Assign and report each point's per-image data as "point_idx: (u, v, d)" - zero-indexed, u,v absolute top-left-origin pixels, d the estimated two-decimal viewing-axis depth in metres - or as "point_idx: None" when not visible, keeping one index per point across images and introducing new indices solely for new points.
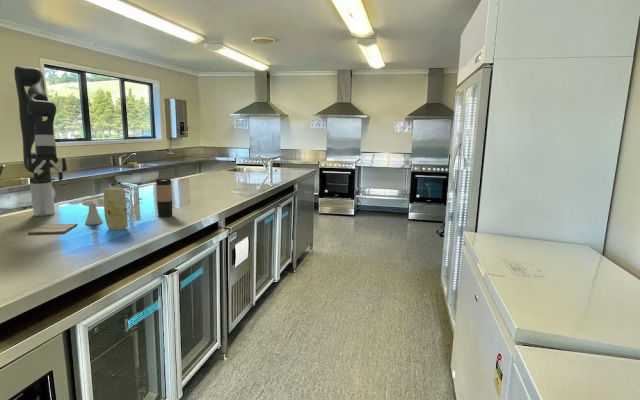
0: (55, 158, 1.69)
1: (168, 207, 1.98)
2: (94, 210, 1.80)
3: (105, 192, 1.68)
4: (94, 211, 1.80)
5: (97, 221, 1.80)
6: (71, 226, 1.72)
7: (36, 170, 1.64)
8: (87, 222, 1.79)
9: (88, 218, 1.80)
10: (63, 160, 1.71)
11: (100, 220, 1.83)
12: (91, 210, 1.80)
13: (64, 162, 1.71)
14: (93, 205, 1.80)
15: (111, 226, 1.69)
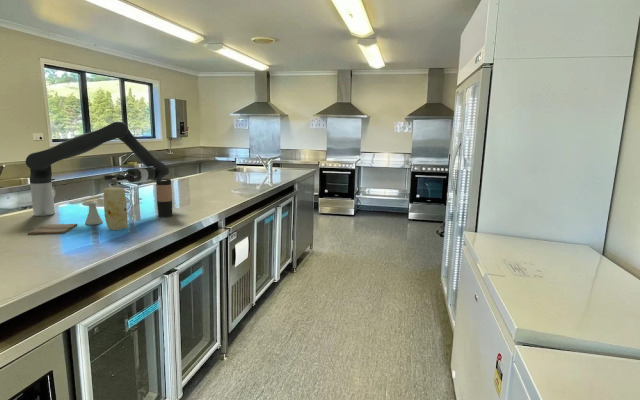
0: None
1: (168, 207, 1.98)
2: (94, 210, 1.80)
3: (105, 192, 1.68)
4: (94, 211, 1.80)
5: (97, 221, 1.80)
6: (71, 226, 1.72)
7: None
8: (87, 222, 1.79)
9: (88, 218, 1.80)
10: None
11: (100, 220, 1.83)
12: (91, 210, 1.80)
13: None
14: (93, 205, 1.80)
15: (111, 226, 1.69)
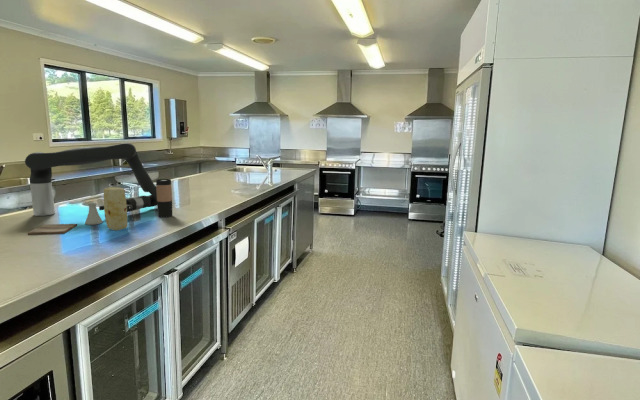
0: None
1: (168, 207, 1.98)
2: (94, 210, 1.80)
3: (105, 192, 1.68)
4: (94, 211, 1.80)
5: (97, 221, 1.80)
6: (71, 226, 1.72)
7: None
8: (87, 222, 1.79)
9: (88, 218, 1.80)
10: None
11: (100, 220, 1.83)
12: (91, 210, 1.80)
13: None
14: (93, 205, 1.80)
15: (111, 226, 1.69)
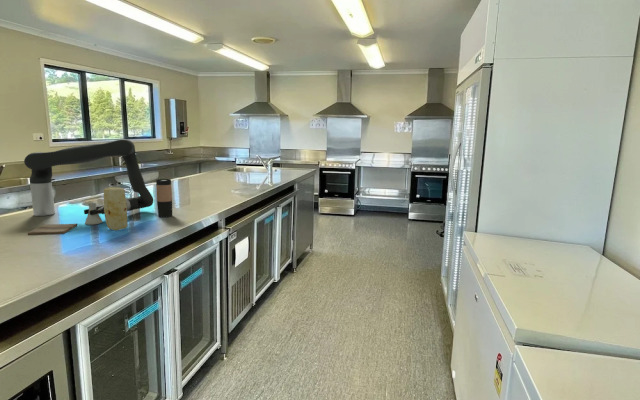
0: None
1: (168, 207, 1.98)
2: None
3: (105, 192, 1.68)
4: None
5: (97, 221, 1.80)
6: (71, 226, 1.72)
7: None
8: (87, 222, 1.79)
9: (88, 218, 1.79)
10: None
11: (100, 220, 1.83)
12: None
13: None
14: (93, 205, 1.80)
15: (111, 226, 1.69)
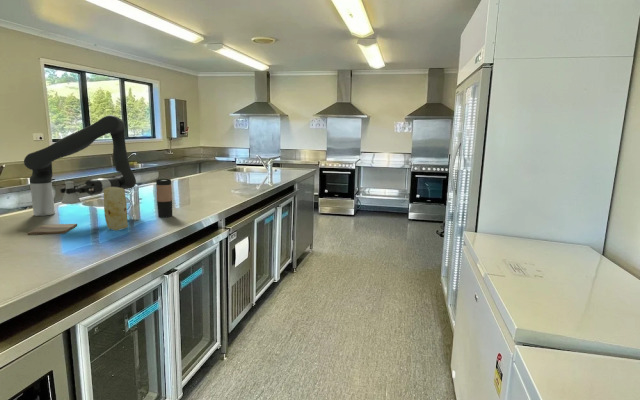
0: None
1: (168, 207, 1.98)
2: None
3: (105, 192, 1.68)
4: None
5: (74, 201, 1.71)
6: (71, 226, 1.72)
7: None
8: (64, 201, 1.70)
9: (65, 197, 1.70)
10: None
11: (78, 199, 1.74)
12: (68, 188, 1.71)
13: None
14: (70, 183, 1.71)
15: (111, 226, 1.69)
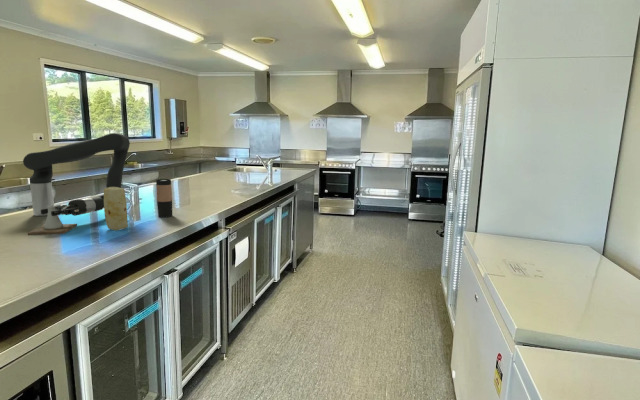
0: None
1: (168, 207, 1.98)
2: None
3: (105, 192, 1.68)
4: None
5: (56, 226, 1.67)
6: (71, 226, 1.72)
7: None
8: (45, 226, 1.66)
9: (47, 222, 1.66)
10: (59, 210, 1.76)
11: (60, 224, 1.69)
12: (50, 213, 1.66)
13: None
14: (52, 208, 1.66)
15: (111, 226, 1.69)
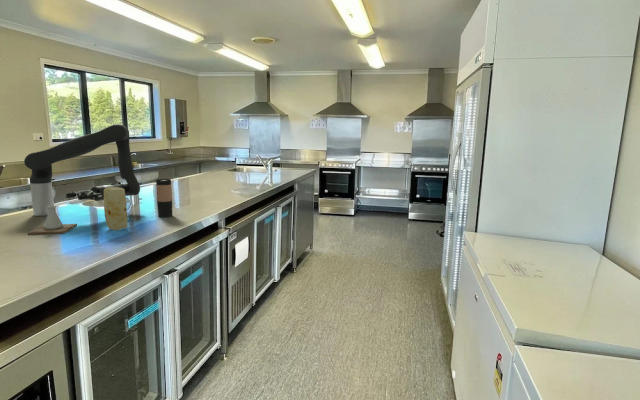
0: None
1: (168, 207, 1.98)
2: (53, 213, 1.67)
3: (105, 192, 1.68)
4: (53, 214, 1.67)
5: (56, 226, 1.67)
6: (71, 226, 1.72)
7: None
8: (45, 226, 1.66)
9: (47, 222, 1.66)
10: (82, 195, 1.88)
11: (60, 224, 1.69)
12: (50, 213, 1.66)
13: None
14: (52, 208, 1.66)
15: (111, 226, 1.69)
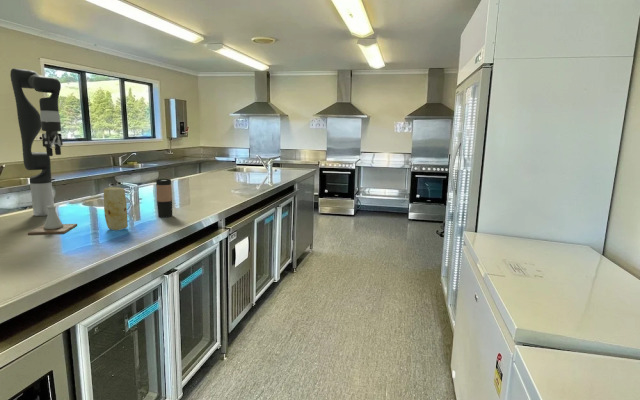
0: (57, 133, 1.78)
1: (168, 207, 1.98)
2: (53, 213, 1.67)
3: (105, 192, 1.68)
4: (53, 214, 1.67)
5: (56, 226, 1.67)
6: (71, 226, 1.72)
7: (51, 145, 1.72)
8: (45, 226, 1.66)
9: (47, 222, 1.66)
10: (60, 135, 1.81)
11: (60, 224, 1.69)
12: (50, 213, 1.66)
13: (61, 137, 1.81)
14: (52, 208, 1.66)
15: (111, 226, 1.69)
